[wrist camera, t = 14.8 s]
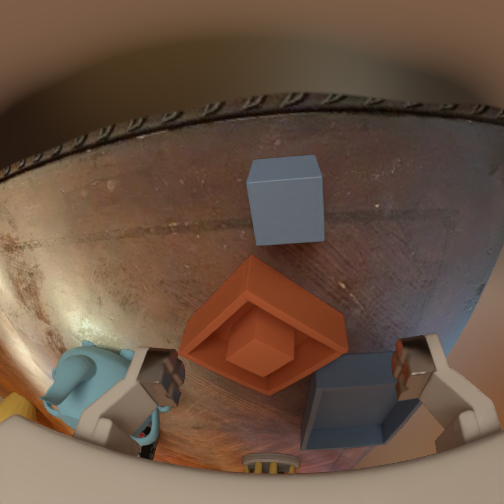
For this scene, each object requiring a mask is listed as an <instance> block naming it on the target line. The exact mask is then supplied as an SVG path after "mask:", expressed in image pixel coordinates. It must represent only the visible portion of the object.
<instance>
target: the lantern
mask: <svg viewBox="0 0 504 504" xmlns="http://www.w3.org/2000/svg"><path fill="white" fill-rule="evenodd" d="M242 464H243V466H244V467H245V470H244V473H253V471H255V473H262V472H263V473H267V474H284V472H289V474H296V469H297V468H298V467H299V466H300V459H299V458H297V457H295V456H291V455H286V454H276V453H257V454H250V455H246V456H244V457H243V461H242Z"/></svg>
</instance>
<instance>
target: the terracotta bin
mask: <svg viewBox="0 0 504 504" xmlns="http://www.w3.org/2000/svg"><path fill="white" fill-rule="evenodd" d="M254 305H256V306H258V307H260V308H261V309H263V310H265V311H267V312H268V313H270V314H272V315H273V316H275V317H277V318H279V319H280V320H282V321H284V322H286V323H287V324H289V325H291V326H292V327H294V359H293V360H292V361H290V362H288V363H287V364H285V365H284V366H282V367H280V368H279V369H277V370H275V371H274V372H272V373H270V374H269V375H267V376H265V377H261V376H259V375H257V374H254V373H252V372H250V371H248V370H246V369H244V368H241V367H239V366H237V365H235V364H233V363H231V362H229V361H227V360H226V355H227V350H228V344H229V339H230V334H231V328H232V324H234V323H235V322H236V321H237V320H238V319H239V318H241V317H242V316H243V315H244V314H245V313H246V312H248V311H249V310H250V309H251V308H252V307H253V306H254ZM348 351H349V348H348V341H347V335H346V328H345V322H344V315H343V314H341V313H340V312H338V311H337V310H335V309H334V308H332V307H331V306H329V305H328V304H326V303H325V302H323V301H322V300H320V299H319V298H317V297H316V296H314V295H313V294H311V293H310V292H308V291H307V290H305V289H303V288H302V287H300V286H299V285H297V284H296V283H294V282H293V281H291V280H290V279H288V278H287V277H285V276H284V275H282V274H281V273H279V272H278V271H276V270H275V269H273V268H272V267H270V266H269V265H267V264H266V263H264V262H263V261H261V260H260V259H258V258H257V257H255V256H254V255H252V254H251V255H250V256H249V257H248V258H247V260H246V261H245V262H244V263H243V264H242V265H241V266H240V267H239V268H238V269H237V270H236V271H235V272H234V273H233V274H232V275H231V276H230V277H229V278H228V279H227V280H226V281H225V283H224V284H223V285H222V286H221V287H220V288H219V289H218V290H217V291H216V292H215V293H214V294H213V295H212V296H211V297H210V298H209V299H208V300H207V301H206V302H205V303H204V304H203V306H202V307H201V308H200V309H199V310H198V311H197V312H196V313H195V314H194V315H193V316H192V317H191V318H190V319H189V320H188V322H187V326H186V329H185V332H184V335H183V338H182V341H181V344H180V348H179V351H178V354H179V355H181V356H182V357H184V358H186V359H188V360H190V361H192V362H194V363H196V364H198V365H200V366H203V367H205V368H207V369H209V370H211V371H213V372H215V373H217V374H219V375H222V376H224V377H226V378H228V379H230V380H233V381H235V382H237V383H239V384H242V385H244V386H246V387H249V388H251V389H253V390H256V391H258V392H261V393H263V394H265V395H268V396H270V395H272V394H274V393H276V392H278V391H280V390H282V389H284V388H285V387H287V386H289V385H291V384H293V383H295V382H297V381H298V380H300V379H302V378H304V377H306V376H307V375H309V374H311V373H313V372H314V371H316V370H318V369H320V368H321V367H323V366H325V365H326V364H328V363H330V362H331V361H333V360H335V359H336V358H338V357H340V356H341V355H342V354H344V353H346V352H348Z"/></svg>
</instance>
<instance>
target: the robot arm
mask: <svg viewBox="0 0 504 504" xmlns="http://www.w3.org/2000/svg"><path fill="white" fill-rule="evenodd" d="M396 349H397V350H396V351H395V352H393V355H392V359H391V368H392V374H393V377H394V378H395V379H397V383H396V385H395V388H396V393H397V398H398V401H402V400H409V399H415V398H419V400H420V401H421V402H422V404H423V405H424V406H425V407H426V408H427V409H428V410H429V412H430V413H431V414H432V415H433V416H434V417H435V418H436V420H437V421H438V422H439V423H440V424H441V425H442V426H443V427H444V429H445V431H444V432H443V433H442V434H441V435H440V436H439V437H438V438H437V439H436V440H435V444H436V451H437V453H435V454H432V455H428V456H424V457H420V458H416V459H412V460H407V461H402V462H397V463H392V464H386V465H380V466H374V467H368V468H361V469H352V470H343V471H333V472H319V473H296V474H267V473H243V472H229V471H219V470H209V469H201V468H194V467H187V466H181V465H175V464H169V463H164V462H159V461H154V460H149V459H145V458H141V457H137V455H138V451H139V448H140V445H139V443H138V442H136V441H135V440H134V439H133V438H132V437H130V436H131V435H132V434H133V433H134V432H135V431H136V430H137V429H138V428H139V427H140V426H141V425H142V423H143V422H144V421H145V420H146V419H147V418H148V417H149V416H150V415H151V414H152V413H153V412H154V410H155V409H156V408H157V407H158V405H161V406H171V407H177V406H178V402H179V399H180V395H181V392H180V390H179V387H180V386H181V385H182V384H183V383H184V379H185V367H184V364H183V362H182V361H181V360H179V359H178V358H177V357H178V353H177V351H176V350H175V349H164V348H151V347H138V348H137V349H136V351H135V354H134V356H133V359H132V361H131V364H130V366H129V369H128V371H127V374H126V376H125V379H124V380H123V379H121V380H120V381H118V382H117V383H116V384H115V385H114V386H112V387H111V388H110V389H109V390H108V391H106V392H105V393H104V394H103V395H101V396H100V397H99V398H98V399H97V400H95V401H94V402H93V403H92V404H90V405H89V406H88V407H87V408H86V409H84V410H83V411H82V414H81V416H80V418H79V421H78V423H77V426H76V429H75V431H74V434H73V436H72V437H71V436H68V435H65V434H63V433H60V432H58V431H55V430H53V429H50V428H48V427H45V426H43V425H41V424H39V423H36V422H34V421H32V420H30V419H28V418H26V417H24V416H21V415H18V414H14V415H12V416H10V417H8V418H7V419H5V420H4V421H2V422H1V423H0V504H504V430H502V431H501V428H500V424H499V420H498V417H497V413H496V410H495V407H494V404H493V401H492V400H490V399H489V398H488V397H487V396H486V395H485V394H483V393H482V392H481V391H480V390H479V389H478V388H476V387H475V386H474V385H473V384H472V383H471V382H469V381H468V380H467V379H466V378H465V377H463V376H462V375H461V374H460V373H459V372H457V371H456V370H455V369H454V368H451V369H450V368H449V365H448V362H447V359H446V356H445V354H444V351H443V348H442V346H441V343H440V340H439V338H438V335H437V334H428V335H420V336H414V337H408V338H402V339H398V340H397V342H396Z"/></svg>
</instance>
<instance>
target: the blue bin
mask: <svg viewBox="0 0 504 504" xmlns="http://www.w3.org/2000/svg"><path fill="white" fill-rule="evenodd" d="M392 355H393V352H382V353H366V354H344V355H341V356H340V357H338V358H336V359H335V360H333V361H331V362H330V363H328V364H326V365H325V366H323V367H321V368H320V369H318V370H316V371H314V372H313V373H312V376H311V381H310V386H309V392H308V397H307V402H306V407H305V412H304V416H303V421H302V426H301V448H300V450H301V451H305V450H333V449H348V448H359V447H368V446H377V445H384V444H387V443H388V442H389V441H390V440H391V439H392V438H393V437H394V436H395V435H396V433H397V432H398V431H399V430H400V429H401V428H402V427H403V426H404V424H405V423H406V422H407V421H408V420H409V419H410V418H411V416H412V415H413V414H414V413H415V412H416V410H417V409H418V408H419V407H420V406H421V404H422V402H421V401H420V400H419V398H415V399H409V400H402V401H398V398H397V393H396V388H395V385H396V383H397V379H395V378H394V377H393V374H392V368H391V359H392Z"/></svg>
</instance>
